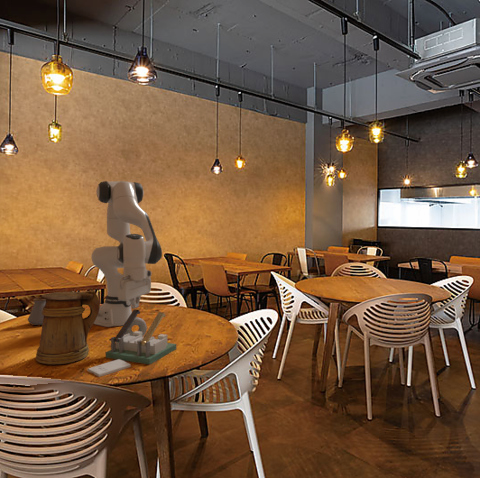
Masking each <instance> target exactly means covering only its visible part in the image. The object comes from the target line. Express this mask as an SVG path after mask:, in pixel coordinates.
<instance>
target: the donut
mask: <svg viewBox="0 0 480 478" xmlns="http://www.w3.org/2000/svg"><path fill="white" fill-rule="evenodd" d="M134 326H138V330H137V331H141V332H142V337H144V336H145V334H146V333H147V331H148V327H147V322H146V321H145V320H144V319H143V318H140V317H138V316H136V318H135V319H134V321H133V322H132V324H131V325H130V327H129V328H128V330H127V331H126V333H125V334H124V335H126V334H128V333H130V335H131V336H133V332H134V331H133V330H132V328H133V327H134Z"/></svg>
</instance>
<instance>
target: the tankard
mask: <svg viewBox="0 0 480 478" xmlns="http://www.w3.org/2000/svg"><path fill="white" fill-rule="evenodd" d="M40 298H43V299H46V303H45V306H44V307H43V310H42V311H43V312H42V315H44V317H43V324H42V326H41V333H40V339H39V345H38V348H37V349H36V355H35V360H36V362H38V363H40V364H44V365H66V364H70V363H75V361H76V362H78V361H82V360H83V359H84V358H86V357H87V356H88V355H89V350H90V348H89V344H88V342H87V341H88V335H89V332H90V329H91V328H92V326H93V325H94V324H93V323H94V322H95V320H96V318H97V316H98V313H99V309H100V306H101V305H100V304H101V303H100V298H99V297H98V295H97V293H96V290H95V289H91V290H86V291H72V292H71V291H63V292H62V291H61V292H59V291H57V292H50V293H46V294H45V293H44V294H42V295H41V296H40ZM83 306H88V307H89V311H90V312H89V314H88V315H87V316H86V317H85V318H84V316H83V313H84V312H85V311H86V308H85V307H83Z"/></svg>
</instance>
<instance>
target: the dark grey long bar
mask: <svg viewBox="0 0 480 478" xmlns="http://www.w3.org/2000/svg"><path fill="white" fill-rule="evenodd" d="M140 314H141V311H140V309H133V310H132V313H131V315H130V316H129V318H128V319H127V321H126V322H125V324H124V325H122V327H121V328H120V330H119V331H118V333H117V335H116V336H114V337H115V338H114V341H115V342H119V339H120V338H123V336H124V335H125V333H126V331H127V330H128V328H129V327H130V325H131V324H132V322H133V321H134V319H135V318H136V317H138V315H140Z"/></svg>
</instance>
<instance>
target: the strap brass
mask: <svg viewBox="0 0 480 478" xmlns="http://www.w3.org/2000/svg"><path fill="white" fill-rule="evenodd" d="M165 317H166V314H165V312H161V311H159V312H158V313H157V314H156V316H155V318H154V319H153V320H152V321H153V322H152V323H151V325H150V326H149V327H148V328H147V330H146V333H145V335H144V336H143V337H144V338H143V339H142V341H141V342H140V345H143V346H146V342H148V341H149V340H150V338H151V337H153V334H154V333H155V331H156V329H157V328H158V326H159V324H160V323H161V321H162V319H163V318H165Z"/></svg>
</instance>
